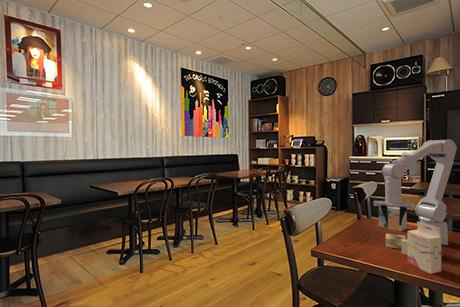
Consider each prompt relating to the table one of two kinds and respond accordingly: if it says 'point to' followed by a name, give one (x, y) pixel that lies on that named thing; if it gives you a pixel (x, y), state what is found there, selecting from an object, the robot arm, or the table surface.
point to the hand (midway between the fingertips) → (393, 224)
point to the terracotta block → (393, 222)
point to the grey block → (404, 246)
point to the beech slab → (394, 240)
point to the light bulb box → (392, 212)
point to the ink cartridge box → (425, 248)
